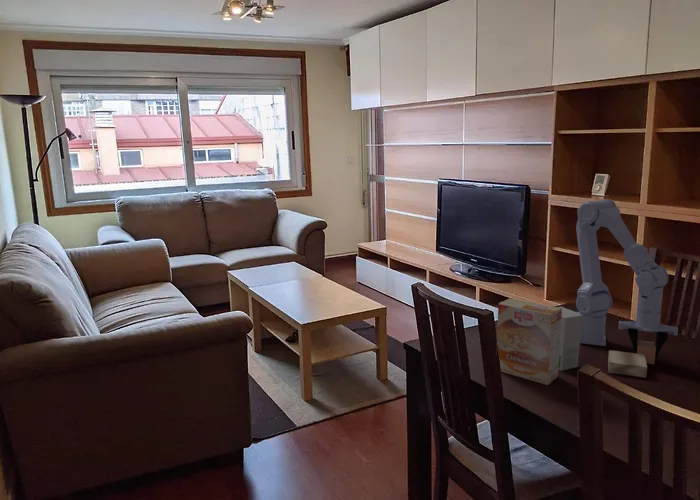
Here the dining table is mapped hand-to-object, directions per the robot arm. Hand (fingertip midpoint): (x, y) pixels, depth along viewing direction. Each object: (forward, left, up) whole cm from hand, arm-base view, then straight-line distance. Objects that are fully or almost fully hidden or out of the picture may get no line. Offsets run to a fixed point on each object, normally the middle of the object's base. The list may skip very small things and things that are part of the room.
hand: (645, 355), depth 155 cm
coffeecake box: (-30, -21, -2) cm, 37 cm away
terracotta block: (0, 0, -1) cm, 1 cm away
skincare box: (-22, -11, -2) cm, 25 cm away
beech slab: (-5, -8, -1) cm, 10 cm away
